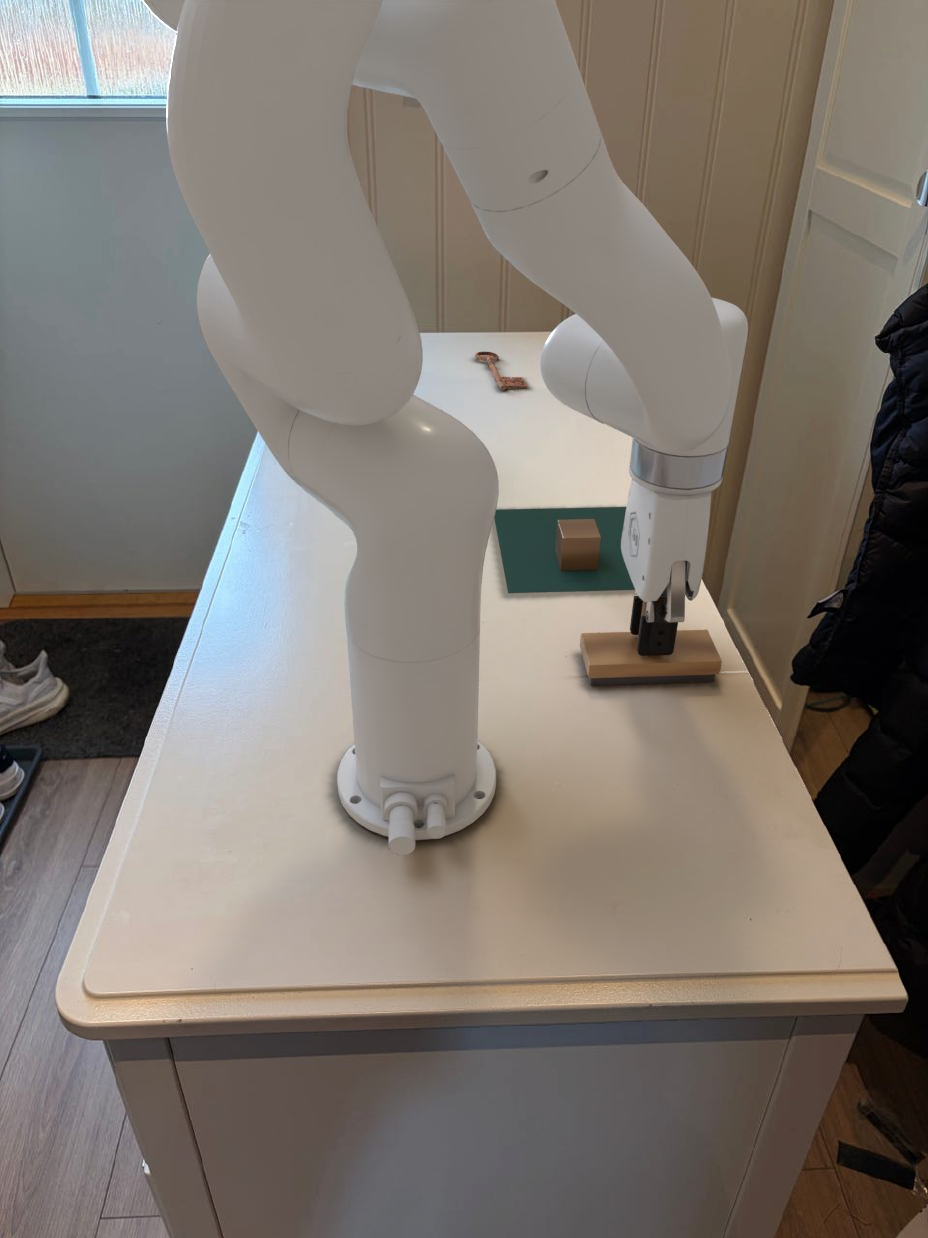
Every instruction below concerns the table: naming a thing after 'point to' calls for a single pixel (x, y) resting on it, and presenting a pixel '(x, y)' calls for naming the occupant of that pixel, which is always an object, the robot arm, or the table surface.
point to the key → (500, 380)
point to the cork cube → (577, 544)
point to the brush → (649, 658)
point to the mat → (534, 544)
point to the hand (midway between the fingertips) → (651, 641)
